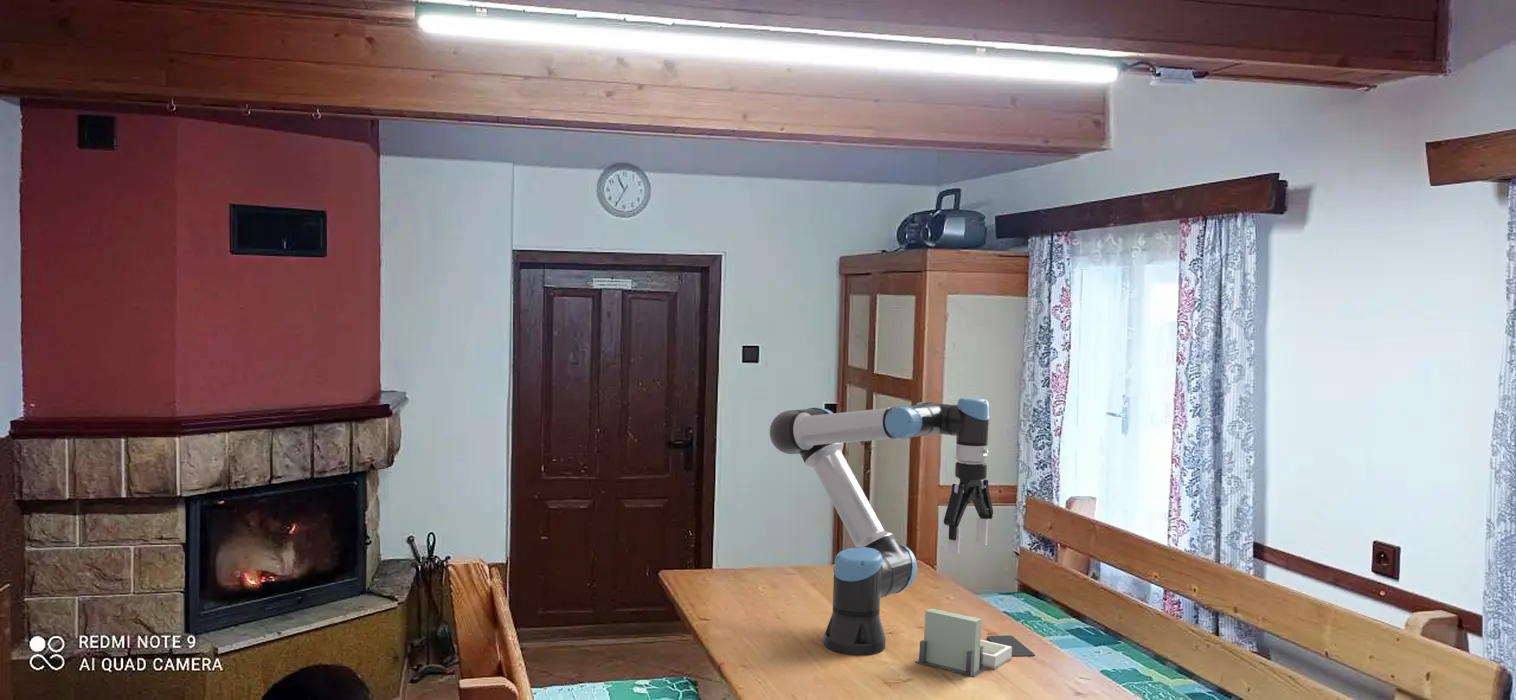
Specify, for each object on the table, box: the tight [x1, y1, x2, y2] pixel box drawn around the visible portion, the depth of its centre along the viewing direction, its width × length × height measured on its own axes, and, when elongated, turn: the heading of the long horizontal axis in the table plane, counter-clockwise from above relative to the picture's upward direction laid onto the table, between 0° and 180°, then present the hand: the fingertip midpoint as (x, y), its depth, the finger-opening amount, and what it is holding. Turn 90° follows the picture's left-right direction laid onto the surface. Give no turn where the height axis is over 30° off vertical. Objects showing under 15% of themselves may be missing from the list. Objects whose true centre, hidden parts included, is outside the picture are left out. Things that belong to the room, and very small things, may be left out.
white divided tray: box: [980, 639, 1012, 670], centre depth 267 cm, size 18×10×3 cm, turn 55°
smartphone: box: [986, 634, 1036, 658], centre depth 276 cm, size 7×1×15 cm
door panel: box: [923, 608, 982, 673], centre depth 259 cm, size 13×4×12 cm, turn 55°
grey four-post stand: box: [914, 639, 987, 678], centre depth 259 cm, size 15×7×5 cm, turn 55°
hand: (967, 549), depth 267 cm, fingers open, 13 cm apart
